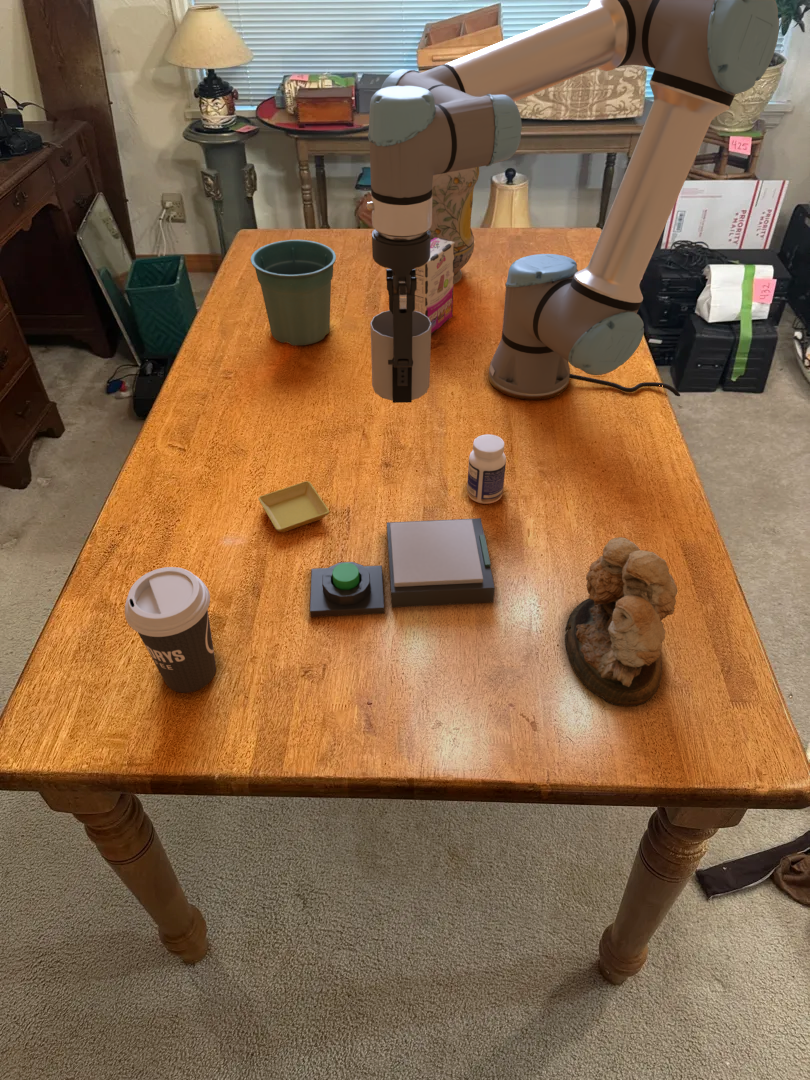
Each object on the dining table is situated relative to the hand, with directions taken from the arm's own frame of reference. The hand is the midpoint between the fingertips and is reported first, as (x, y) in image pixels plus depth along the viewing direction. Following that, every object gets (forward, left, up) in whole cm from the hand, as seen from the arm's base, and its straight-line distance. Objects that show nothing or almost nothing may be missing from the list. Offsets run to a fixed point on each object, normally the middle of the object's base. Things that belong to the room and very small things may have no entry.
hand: (401, 383), depth 112 cm
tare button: (+9, +25, -15) cm, 31 cm away
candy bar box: (-9, -50, -18) cm, 54 cm away
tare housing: (+9, +25, -18) cm, 32 cm away
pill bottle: (-13, +5, -18) cm, 23 cm away
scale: (-4, +21, -18) cm, 28 cm away
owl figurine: (-25, +37, -18) cm, 48 cm away
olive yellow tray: (+17, +8, -18) cm, 26 cm away
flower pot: (+18, -49, -18) cm, 55 cm away
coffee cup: (+29, +37, -18) cm, 50 cm away
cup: (0, 0, -1) cm, 1 cm away
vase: (-12, -73, -18) cm, 76 cm away
